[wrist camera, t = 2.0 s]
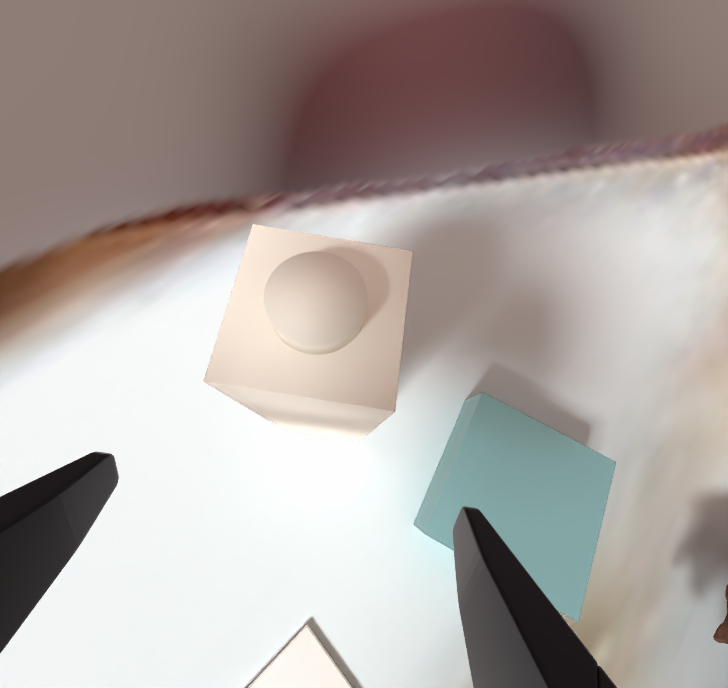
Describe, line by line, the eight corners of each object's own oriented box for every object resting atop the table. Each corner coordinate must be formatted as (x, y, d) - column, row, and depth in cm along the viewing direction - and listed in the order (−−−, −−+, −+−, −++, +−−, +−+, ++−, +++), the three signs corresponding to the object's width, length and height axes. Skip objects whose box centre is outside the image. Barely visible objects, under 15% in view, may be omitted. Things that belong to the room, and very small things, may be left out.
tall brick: (359, 442, 20) (401, 405, 7) (285, 430, 20) (188, 372, 7) (369, 370, 22) (419, 232, 9) (300, 359, 21) (245, 202, 8)
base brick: (541, 597, 18) (578, 622, 16) (411, 523, 19) (424, 534, 16) (578, 461, 21) (615, 462, 18) (463, 400, 22) (482, 391, 19)
